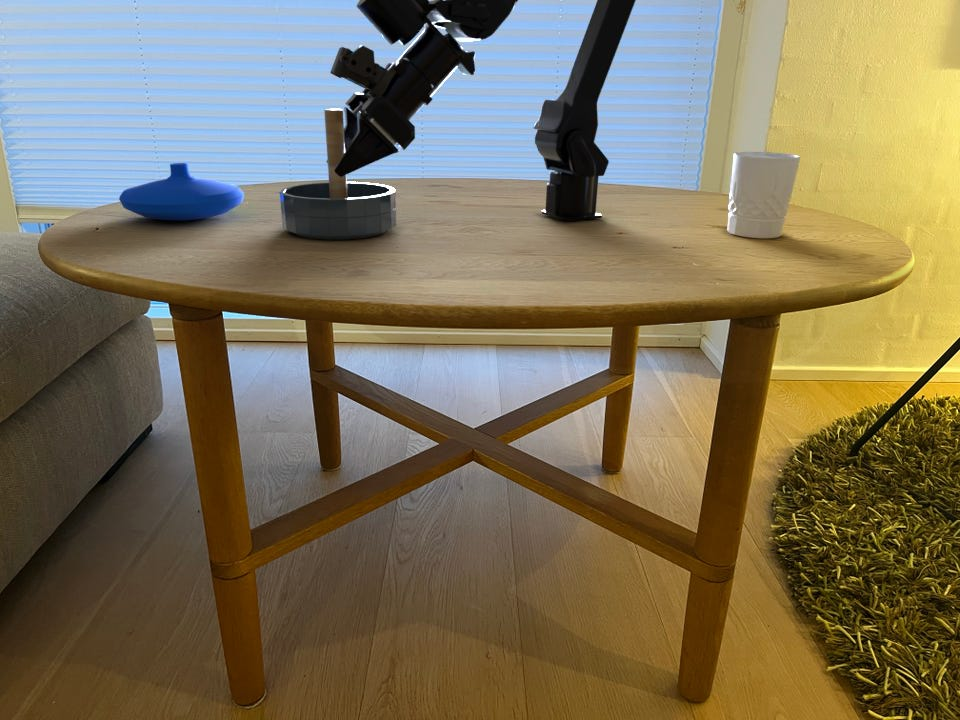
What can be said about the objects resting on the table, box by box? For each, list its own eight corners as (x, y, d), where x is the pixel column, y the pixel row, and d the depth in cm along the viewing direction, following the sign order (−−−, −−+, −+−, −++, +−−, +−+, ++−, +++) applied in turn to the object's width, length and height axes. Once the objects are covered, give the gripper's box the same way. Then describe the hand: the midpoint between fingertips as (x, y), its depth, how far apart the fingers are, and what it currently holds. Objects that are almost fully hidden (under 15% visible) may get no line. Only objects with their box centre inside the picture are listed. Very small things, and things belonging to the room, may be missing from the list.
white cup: (787, 231, 93) (801, 154, 90) (784, 242, 87) (799, 159, 83) (726, 225, 96) (737, 150, 93) (718, 236, 90) (730, 155, 86)
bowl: (375, 216, 99) (373, 180, 97) (412, 235, 87) (411, 195, 85) (273, 223, 92) (269, 185, 91) (298, 245, 81) (295, 202, 79)
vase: (95, 224, 90) (84, 168, 87) (171, 204, 104) (163, 155, 102) (204, 231, 87) (196, 173, 84) (267, 210, 101) (262, 160, 99)
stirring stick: (337, 219, 93) (330, 108, 87) (367, 223, 90) (362, 109, 85) (312, 225, 88) (303, 109, 83) (343, 230, 86) (336, 110, 81)
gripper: (358, 26, 90) (278, 116, 91) (382, 16, 74) (284, 126, 75) (419, 91, 95) (342, 176, 96) (454, 96, 79) (361, 198, 80)
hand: (332, 169), depth 87 cm, fingers open, 9 cm apart
